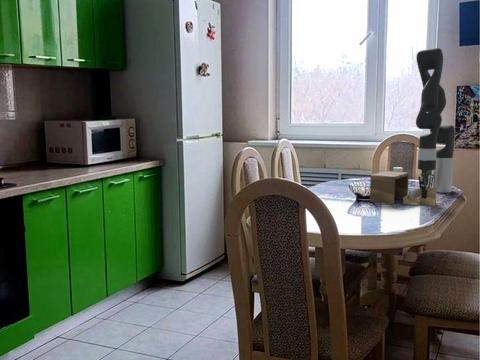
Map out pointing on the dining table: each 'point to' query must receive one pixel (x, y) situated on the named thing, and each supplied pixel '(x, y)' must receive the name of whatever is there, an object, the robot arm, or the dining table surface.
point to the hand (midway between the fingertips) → (425, 197)
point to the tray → (416, 199)
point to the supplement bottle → (397, 169)
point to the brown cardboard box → (388, 186)
